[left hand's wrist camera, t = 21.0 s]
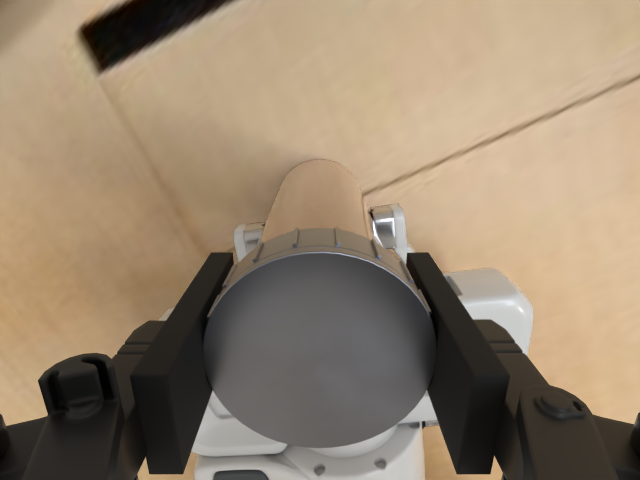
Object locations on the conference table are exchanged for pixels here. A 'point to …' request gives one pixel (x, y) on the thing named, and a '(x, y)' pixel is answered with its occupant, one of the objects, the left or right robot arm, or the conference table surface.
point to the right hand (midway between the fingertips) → (316, 217)
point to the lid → (319, 339)
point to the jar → (319, 202)
